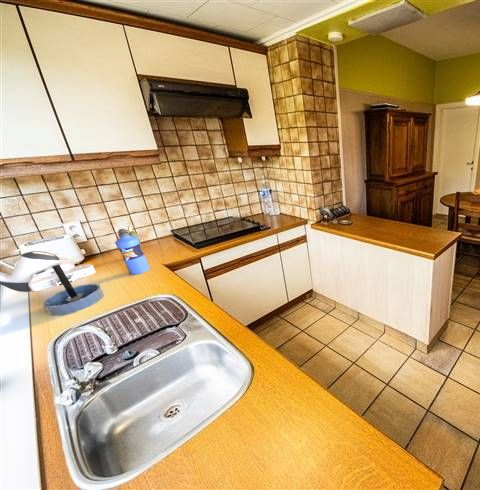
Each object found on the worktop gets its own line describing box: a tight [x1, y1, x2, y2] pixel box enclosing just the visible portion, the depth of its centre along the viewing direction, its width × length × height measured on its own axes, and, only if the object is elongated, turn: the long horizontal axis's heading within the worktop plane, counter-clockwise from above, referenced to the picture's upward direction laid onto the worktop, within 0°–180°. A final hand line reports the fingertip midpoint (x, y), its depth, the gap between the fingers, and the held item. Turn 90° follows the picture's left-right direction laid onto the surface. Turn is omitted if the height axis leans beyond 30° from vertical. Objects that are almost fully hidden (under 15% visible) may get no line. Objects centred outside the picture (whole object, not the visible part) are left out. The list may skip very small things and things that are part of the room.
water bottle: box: [114, 228, 151, 276], centre depth 144 cm, size 9×9×25 cm
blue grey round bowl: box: [42, 283, 105, 317], centre depth 118 cm, size 18×18×6 cm
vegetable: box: [127, 225, 143, 251], centre depth 165 cm, size 4×4×20 cm
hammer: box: [52, 265, 84, 303], centre depth 116 cm, size 6×6×18 cm
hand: (65, 282), depth 116 cm, fingers closed on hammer, 2 cm apart
